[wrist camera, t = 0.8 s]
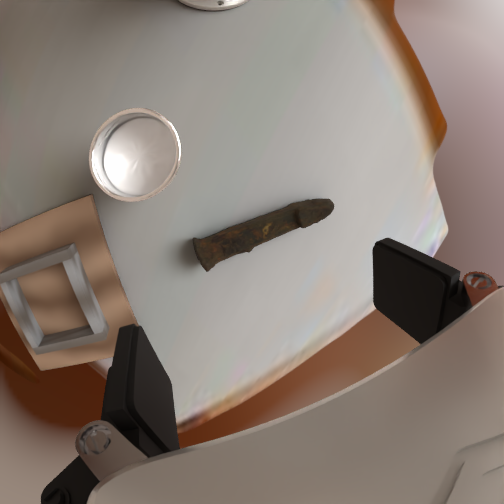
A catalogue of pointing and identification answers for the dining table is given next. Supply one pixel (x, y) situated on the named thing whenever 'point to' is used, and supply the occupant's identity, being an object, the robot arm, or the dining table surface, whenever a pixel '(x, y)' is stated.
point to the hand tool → (260, 231)
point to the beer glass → (135, 155)
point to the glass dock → (63, 286)
